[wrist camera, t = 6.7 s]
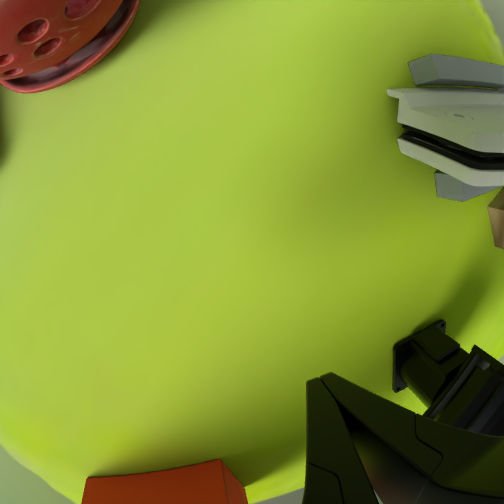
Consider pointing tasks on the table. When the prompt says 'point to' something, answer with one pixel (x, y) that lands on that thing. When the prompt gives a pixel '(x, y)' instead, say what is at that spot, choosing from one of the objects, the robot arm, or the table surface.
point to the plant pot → (57, 39)
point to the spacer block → (497, 219)
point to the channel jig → (458, 74)
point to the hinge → (454, 131)
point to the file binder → (169, 487)
